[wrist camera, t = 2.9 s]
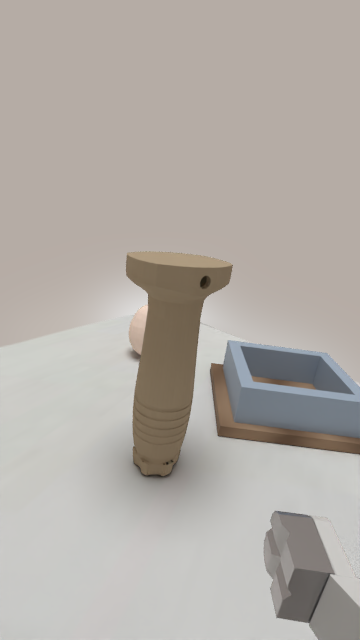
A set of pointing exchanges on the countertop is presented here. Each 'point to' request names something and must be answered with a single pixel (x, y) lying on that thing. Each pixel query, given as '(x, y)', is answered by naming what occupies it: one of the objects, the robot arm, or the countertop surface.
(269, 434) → the board
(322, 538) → the robot arm
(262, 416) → the square frame
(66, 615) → the countertop surface
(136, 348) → the egg
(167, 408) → the handle
